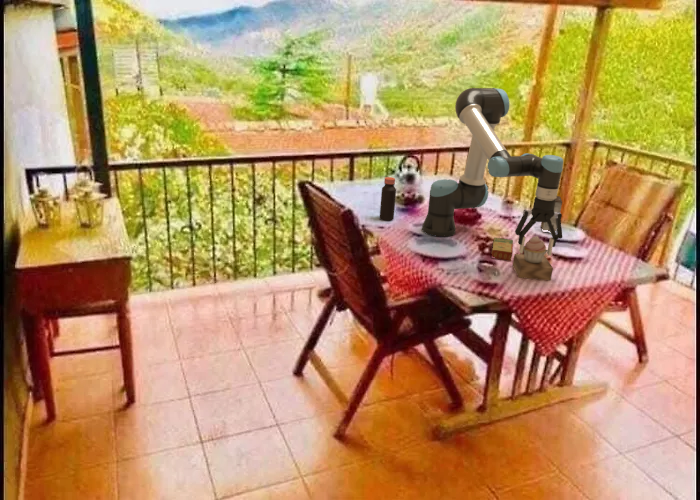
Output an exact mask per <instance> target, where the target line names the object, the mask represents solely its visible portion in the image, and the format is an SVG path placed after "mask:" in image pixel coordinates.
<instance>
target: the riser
mask: <svg viewBox="0 0 700 500" xmlns="http://www.w3.org/2000/svg"><path fill="white" fill-rule="evenodd" d="M513 255H514V256H513V261H512V267H513V269H514V271H515V273H516V275H517V277H518V278H519V279H529V280H530V279H531V280H541V281H543V280H544V281H551V280H552V275H553V271H554V268H553V266H552V265H551V263H550V261H549V259H547V257H546V256H545V255H544V257H543V260H542V262H540V263H530V262H527V261H526V260H525V257H524V253H523V254H522V253H514V254H513Z"/></svg>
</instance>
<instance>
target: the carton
mask: <svg viewBox="0 0 700 500" xmlns="http://www.w3.org/2000/svg"><path fill="white" fill-rule="evenodd" d="M492 247H493V248H492V250H491V254H492V256H493V257H495V258H496V260H501V261H508V262H511V261H512V257H513V247H514V240H513V239H507V238H501V237H494V238H493V242H492Z"/></svg>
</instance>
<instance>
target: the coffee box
mask: <svg viewBox="0 0 700 500" xmlns="http://www.w3.org/2000/svg"><path fill="white" fill-rule="evenodd" d="M555 200H556V203H555V208H554V212H560V213H561V210H562V205H563V200H562V198H561V196H560V195H557V197H556V199H555ZM550 220H551V223H552V226H553V228H554V231H556V232H557V226H556V218H555V216H553V217H552V218H551V219H550ZM541 227H542V229H543V230H548V231H550V229H549V227H548V224H547V222H546V223H544V222H540V228H541ZM542 229H541V230H542Z"/></svg>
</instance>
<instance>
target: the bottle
mask: <svg viewBox="0 0 700 500" xmlns="http://www.w3.org/2000/svg"><path fill="white" fill-rule="evenodd" d="M383 183H384V186H383V187H382V188H381V196H380V206H379V220H381V221H385V222H391V221H393V220H394V218H395V210H396V209H395V207H396V206H395V205H396V197H397V196H396V194H397V189H396V187H395V183H396V178H394V177H393V176H392V177H391V176H386V177H384V182H383Z"/></svg>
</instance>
